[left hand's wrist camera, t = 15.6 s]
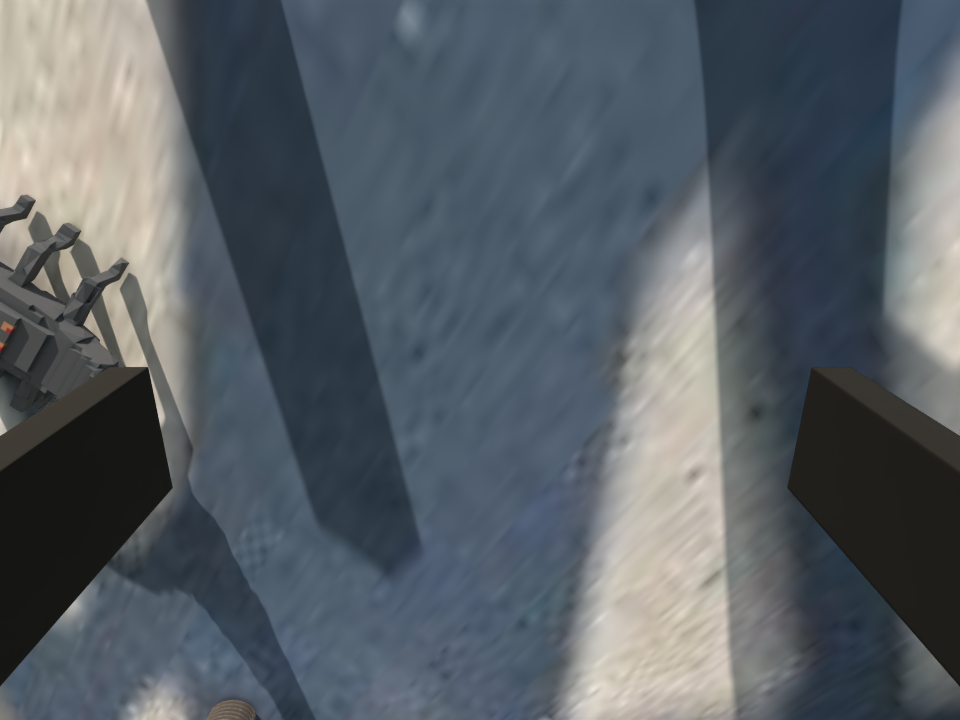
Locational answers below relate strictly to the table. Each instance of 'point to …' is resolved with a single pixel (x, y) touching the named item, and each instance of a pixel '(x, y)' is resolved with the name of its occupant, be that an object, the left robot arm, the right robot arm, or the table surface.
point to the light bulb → (232, 711)
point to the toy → (48, 321)
